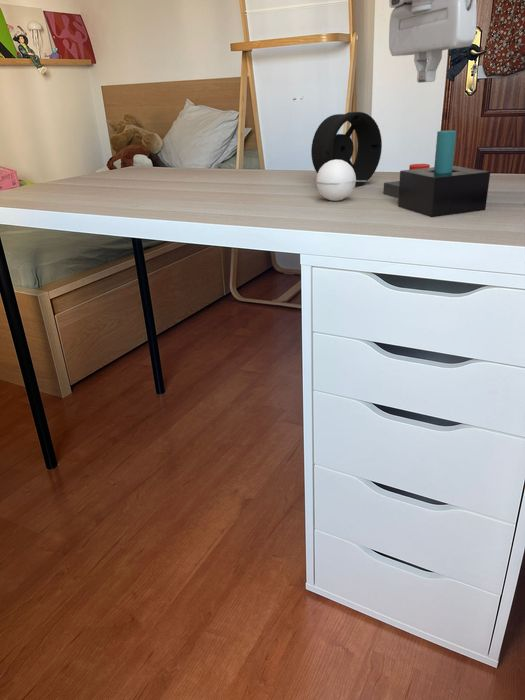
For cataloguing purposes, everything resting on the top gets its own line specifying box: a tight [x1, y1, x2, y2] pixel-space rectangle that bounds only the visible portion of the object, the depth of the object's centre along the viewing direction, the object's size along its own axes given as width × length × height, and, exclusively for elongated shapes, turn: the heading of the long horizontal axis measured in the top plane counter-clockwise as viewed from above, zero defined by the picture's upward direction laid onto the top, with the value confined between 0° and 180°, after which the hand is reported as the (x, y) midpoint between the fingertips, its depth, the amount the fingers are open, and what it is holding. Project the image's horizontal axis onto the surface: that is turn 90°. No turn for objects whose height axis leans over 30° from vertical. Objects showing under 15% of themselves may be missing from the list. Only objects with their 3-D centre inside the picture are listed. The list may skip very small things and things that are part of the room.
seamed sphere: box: [315, 160, 356, 202], centre depth 96 cm, size 10×7×7 cm
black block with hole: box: [397, 165, 491, 218], centre depth 86 cm, size 10×10×6 cm
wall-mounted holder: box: [310, 111, 383, 188], centre depth 111 cm, size 14×14×10 cm
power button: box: [408, 163, 431, 170], centre depth 98 cm, size 4×4×2 cm
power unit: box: [382, 180, 400, 199], centre depth 99 cm, size 10×8×4 cm
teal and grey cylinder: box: [433, 130, 457, 174], centre depth 85 cm, size 3×3×12 cm
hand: (425, 82), depth 92 cm, fingers closed
